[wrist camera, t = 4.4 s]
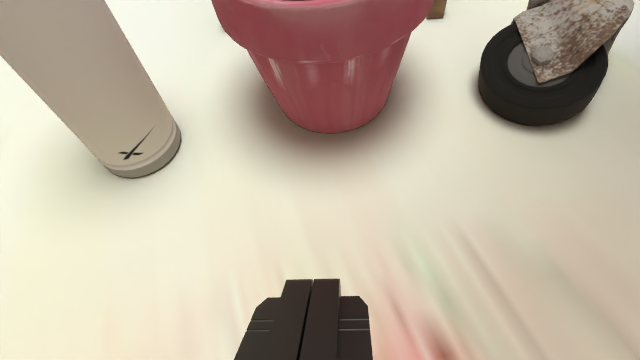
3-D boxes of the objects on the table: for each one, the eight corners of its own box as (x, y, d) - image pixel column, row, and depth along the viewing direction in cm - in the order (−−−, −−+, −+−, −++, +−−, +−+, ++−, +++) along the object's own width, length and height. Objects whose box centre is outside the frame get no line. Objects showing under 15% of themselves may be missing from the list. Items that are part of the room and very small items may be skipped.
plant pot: (252, 46, 37) (209, -110, 27) (401, 29, 37) (418, -137, 26) (245, 170, 30) (181, 20, 19) (434, 151, 29) (478, -15, 18)
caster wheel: (489, 149, 32) (462, 53, 36) (650, 119, 29) (601, 19, 33) (499, 103, 26) (465, -5, 30) (701, 60, 23) (634, -52, 28)
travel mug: (166, 185, 29) (-88, -145, 13) (89, 173, 31) (-235, -142, 14) (197, 121, 33) (27, -208, 16) (127, 113, 34) (-99, -201, 17)
